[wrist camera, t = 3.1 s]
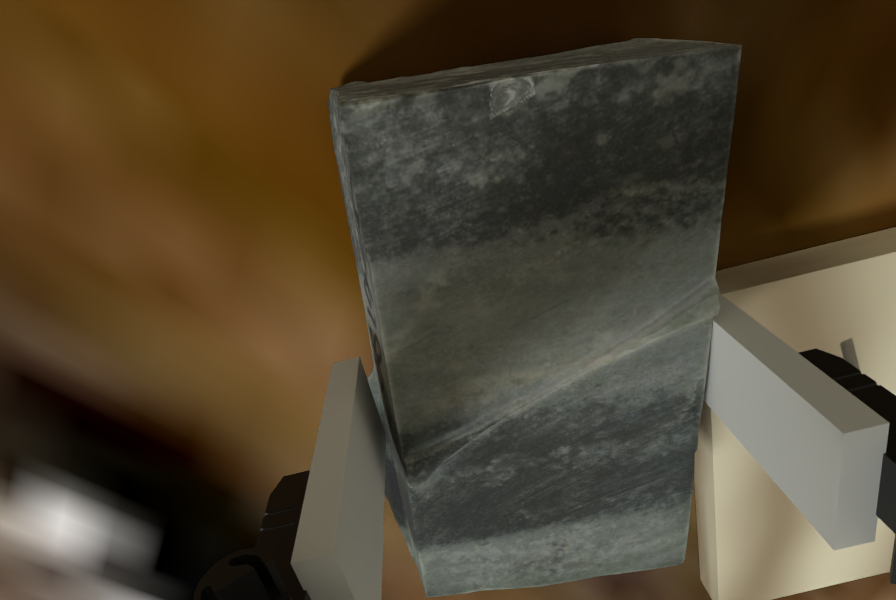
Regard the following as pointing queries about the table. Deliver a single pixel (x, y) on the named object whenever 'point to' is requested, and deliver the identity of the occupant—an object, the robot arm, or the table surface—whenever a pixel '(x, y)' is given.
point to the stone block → (540, 301)
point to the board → (735, 470)
